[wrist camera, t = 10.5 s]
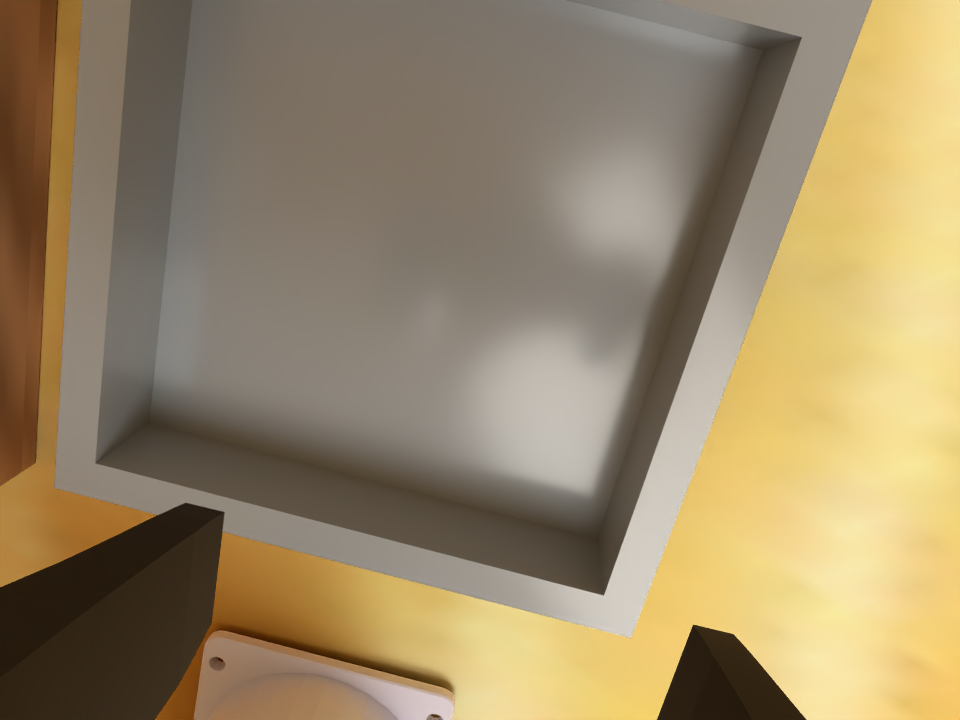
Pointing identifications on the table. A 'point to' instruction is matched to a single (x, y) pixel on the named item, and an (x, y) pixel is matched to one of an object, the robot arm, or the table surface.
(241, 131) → the dish
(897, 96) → the table surface
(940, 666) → the table surface
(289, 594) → the table surface
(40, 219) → the tray
